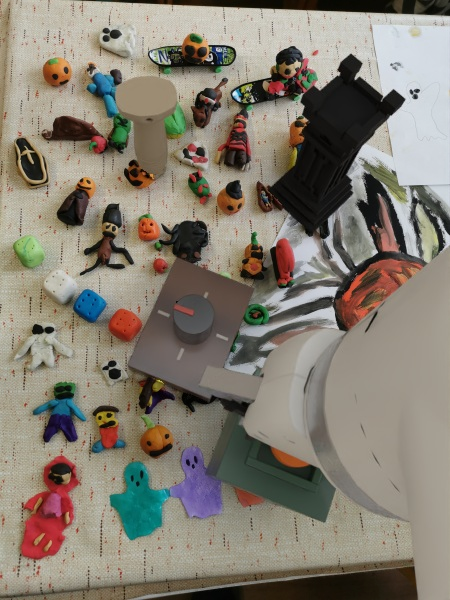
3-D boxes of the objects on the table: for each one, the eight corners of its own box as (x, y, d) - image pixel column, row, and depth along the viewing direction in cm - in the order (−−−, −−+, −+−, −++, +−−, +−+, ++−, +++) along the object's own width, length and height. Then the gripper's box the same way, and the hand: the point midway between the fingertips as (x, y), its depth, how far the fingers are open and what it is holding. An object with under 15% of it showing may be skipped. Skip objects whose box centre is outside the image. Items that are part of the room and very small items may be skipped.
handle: (126, 155, 73) (113, 78, 58) (175, 151, 73) (174, 74, 59) (130, 188, 71) (117, 118, 57) (180, 183, 72) (179, 113, 58)
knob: (217, 314, 64) (220, 301, 59) (204, 350, 63) (206, 339, 58) (181, 301, 64) (181, 287, 59) (167, 336, 63) (166, 325, 58)
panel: (209, 402, 64) (210, 399, 61) (129, 369, 65) (126, 365, 62) (252, 295, 68) (255, 287, 65) (176, 265, 69) (176, 256, 66)
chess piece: (266, 192, 73) (296, 94, 54) (307, 155, 75) (350, 48, 56) (311, 233, 71) (358, 148, 52) (351, 195, 73) (411, 99, 54)
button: (308, 474, 41) (312, 474, 40) (263, 456, 42) (266, 455, 40) (323, 428, 43) (328, 427, 41) (279, 410, 43) (283, 408, 41)
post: (280, 506, 62) (330, 525, 41) (204, 474, 62) (216, 477, 41) (306, 428, 64) (366, 409, 43) (233, 398, 65) (258, 365, 44)
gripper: (656, 406, 21) (443, 434, 38) (229, 237, 22) (208, 339, 39) (625, 615, 19) (414, 546, 36) (151, 419, 20) (165, 442, 37)
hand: (308, 438), depth 37 cm, fingers open, 6 cm apart
